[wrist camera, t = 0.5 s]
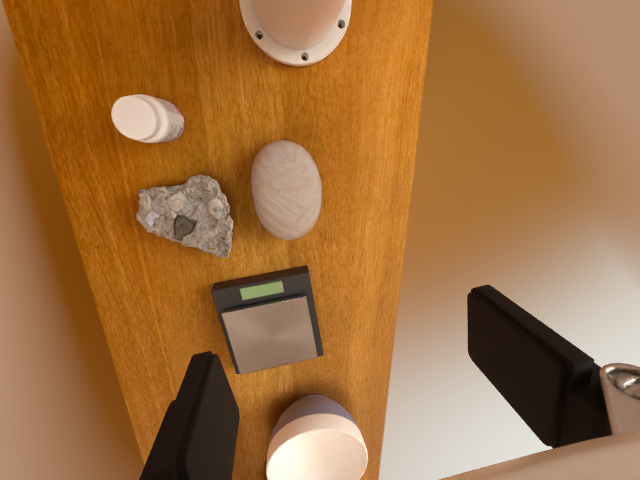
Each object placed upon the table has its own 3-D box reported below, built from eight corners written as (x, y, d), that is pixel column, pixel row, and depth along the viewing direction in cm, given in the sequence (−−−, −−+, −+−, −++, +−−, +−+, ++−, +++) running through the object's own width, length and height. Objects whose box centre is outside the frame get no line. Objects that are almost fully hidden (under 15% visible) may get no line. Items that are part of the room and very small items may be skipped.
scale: (214, 283, 44) (210, 292, 42) (307, 265, 45) (308, 273, 43) (238, 363, 50) (236, 375, 47) (321, 345, 51) (323, 356, 48)
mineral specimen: (232, 251, 44) (140, 242, 41) (240, 177, 41) (142, 161, 38) (229, 267, 38) (122, 257, 35) (238, 182, 35) (123, 164, 32)
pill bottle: (137, 102, 36) (98, 93, 28) (178, 97, 36) (150, 86, 28) (151, 144, 37) (117, 147, 29) (190, 138, 38) (166, 140, 30)
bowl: (264, 384, 52) (261, 436, 43) (355, 374, 54) (370, 422, 45) (270, 450, 57) (269, 509, 48) (352, 439, 59) (366, 493, 50)
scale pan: (222, 310, 43) (221, 313, 42) (305, 294, 44) (306, 296, 43) (240, 370, 46) (240, 374, 46) (317, 354, 47) (317, 358, 47)
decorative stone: (318, 232, 44) (323, 243, 39) (256, 234, 43) (253, 246, 38) (319, 140, 40) (324, 140, 35) (250, 139, 39) (246, 140, 34)
